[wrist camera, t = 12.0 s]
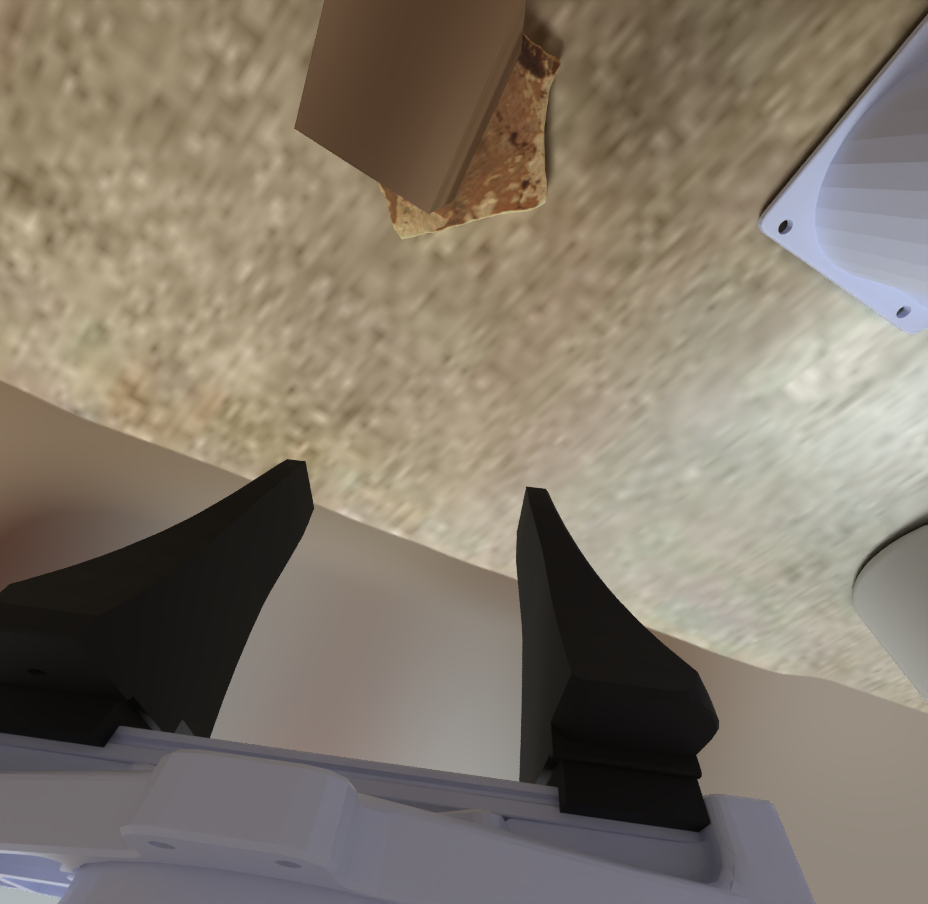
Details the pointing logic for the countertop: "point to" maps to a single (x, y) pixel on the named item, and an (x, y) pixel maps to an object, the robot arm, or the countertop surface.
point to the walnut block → (409, 87)
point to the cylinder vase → (899, 604)
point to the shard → (496, 156)
